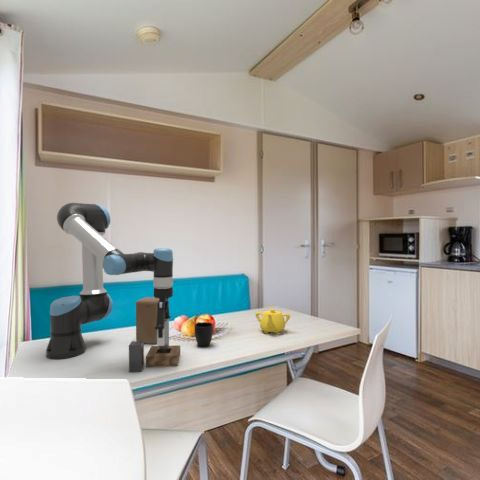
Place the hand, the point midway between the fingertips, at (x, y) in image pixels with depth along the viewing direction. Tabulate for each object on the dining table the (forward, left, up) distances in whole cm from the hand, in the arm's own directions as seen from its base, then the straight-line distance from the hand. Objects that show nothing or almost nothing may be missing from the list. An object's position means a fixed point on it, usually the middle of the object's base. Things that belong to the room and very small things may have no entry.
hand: (163, 339), depth 135 cm
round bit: (0, 0, -8) cm, 8 cm away
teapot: (+50, +33, -9) cm, 61 cm away
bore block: (0, 0, -8) cm, 8 cm away
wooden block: (-10, +26, -9) cm, 29 cm away
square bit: (-9, -8, -8) cm, 15 cm away
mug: (+15, +19, -9) cm, 26 cm away
